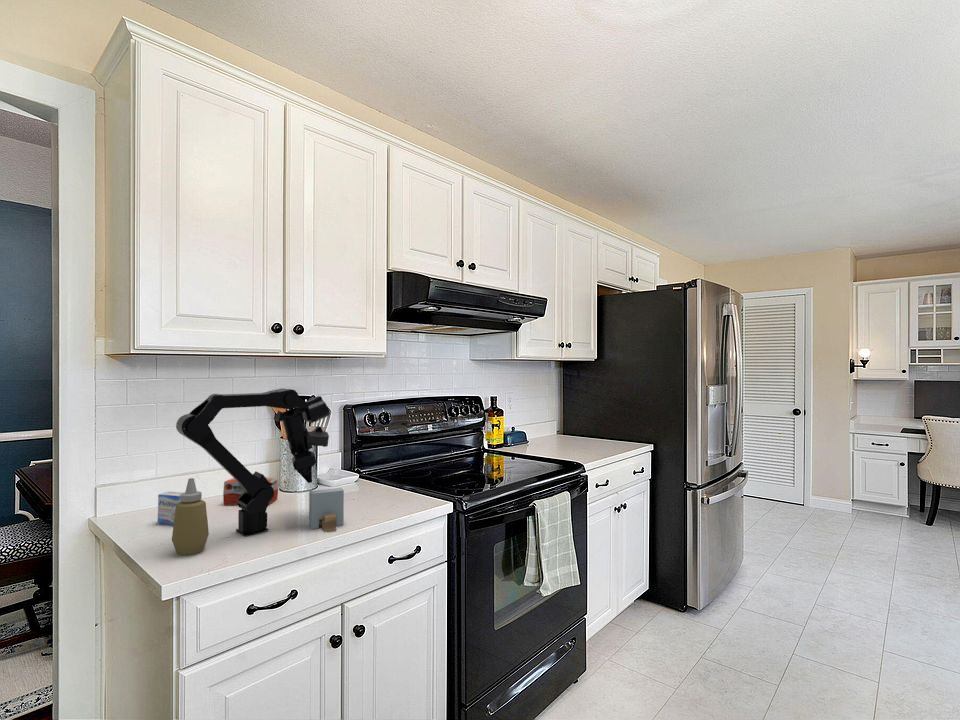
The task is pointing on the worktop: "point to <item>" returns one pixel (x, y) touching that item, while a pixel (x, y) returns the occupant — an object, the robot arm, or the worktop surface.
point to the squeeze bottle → (190, 522)
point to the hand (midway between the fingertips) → (308, 476)
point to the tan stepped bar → (328, 522)
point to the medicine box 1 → (167, 507)
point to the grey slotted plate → (326, 505)
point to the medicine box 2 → (234, 491)
